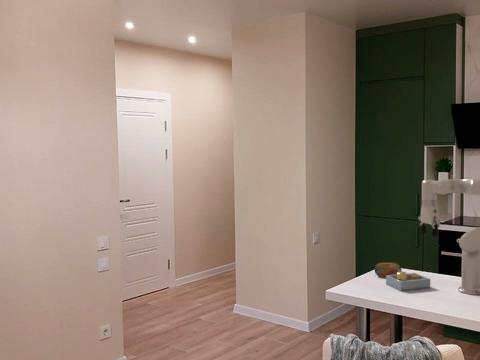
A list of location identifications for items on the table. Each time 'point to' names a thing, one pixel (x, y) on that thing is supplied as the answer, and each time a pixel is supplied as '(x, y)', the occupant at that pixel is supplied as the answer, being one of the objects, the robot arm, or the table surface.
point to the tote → (407, 283)
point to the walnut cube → (413, 277)
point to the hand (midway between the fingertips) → (429, 234)
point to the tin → (387, 269)
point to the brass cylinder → (402, 276)
